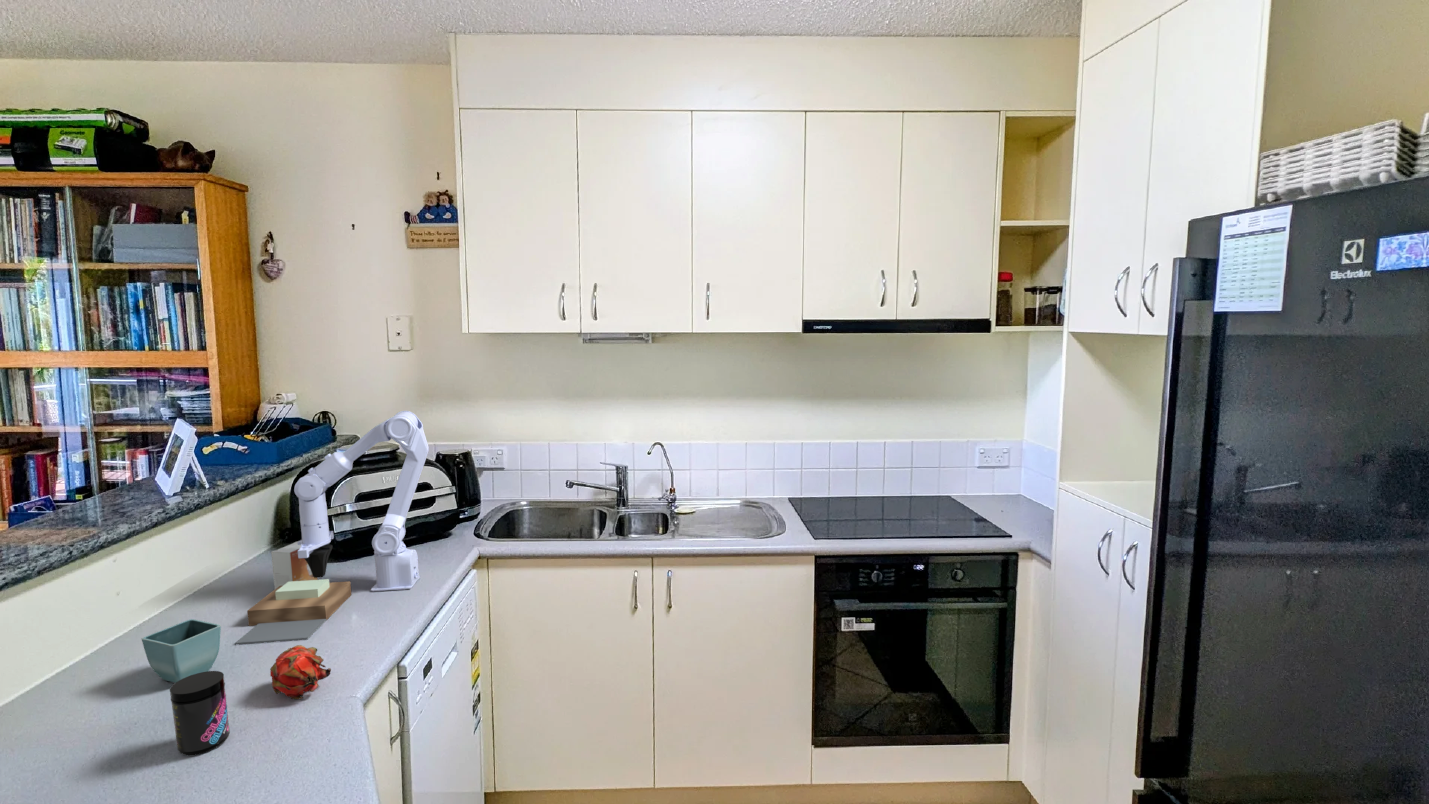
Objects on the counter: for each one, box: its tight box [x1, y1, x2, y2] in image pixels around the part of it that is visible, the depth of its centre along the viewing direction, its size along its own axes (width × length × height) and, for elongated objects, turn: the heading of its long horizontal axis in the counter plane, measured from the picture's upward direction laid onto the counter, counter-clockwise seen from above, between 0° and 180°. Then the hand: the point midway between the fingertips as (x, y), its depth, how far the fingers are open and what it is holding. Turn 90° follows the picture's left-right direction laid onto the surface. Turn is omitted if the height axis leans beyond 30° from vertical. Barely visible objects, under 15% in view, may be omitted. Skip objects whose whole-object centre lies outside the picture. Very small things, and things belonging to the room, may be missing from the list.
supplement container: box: [169, 670, 231, 756], centre depth 104 cm, size 7×7×10 cm
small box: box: [270, 541, 319, 590], centre depth 167 cm, size 8×6×10 cm
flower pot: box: [141, 618, 222, 684], centre depth 125 cm, size 9×9×9 cm
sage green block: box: [275, 578, 330, 600], centre depth 155 cm, size 9×6×2 cm, turn 98°
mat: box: [234, 619, 327, 646], centre depth 143 cm, size 14×9×1 cm, turn 98°
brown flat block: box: [246, 580, 352, 627], centre depth 154 cm, size 16×14×4 cm
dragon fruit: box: [269, 644, 332, 700], centre depth 119 cm, size 8×8×12 cm
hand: (319, 576), depth 163 cm, fingers closed
